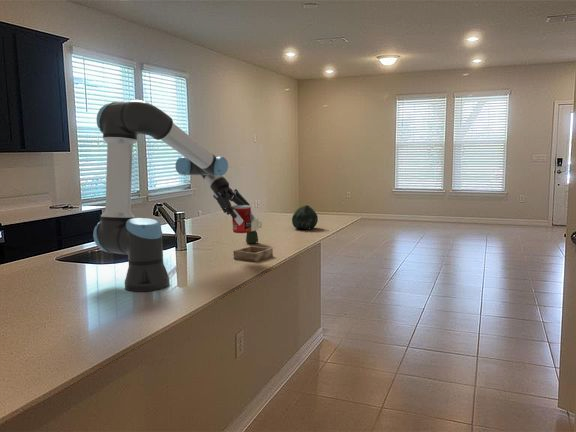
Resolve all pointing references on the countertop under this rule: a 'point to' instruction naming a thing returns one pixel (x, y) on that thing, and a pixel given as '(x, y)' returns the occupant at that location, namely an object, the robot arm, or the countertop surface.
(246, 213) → the canned food
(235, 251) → the crate
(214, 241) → the countertop surface
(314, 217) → the squash
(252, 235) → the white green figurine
